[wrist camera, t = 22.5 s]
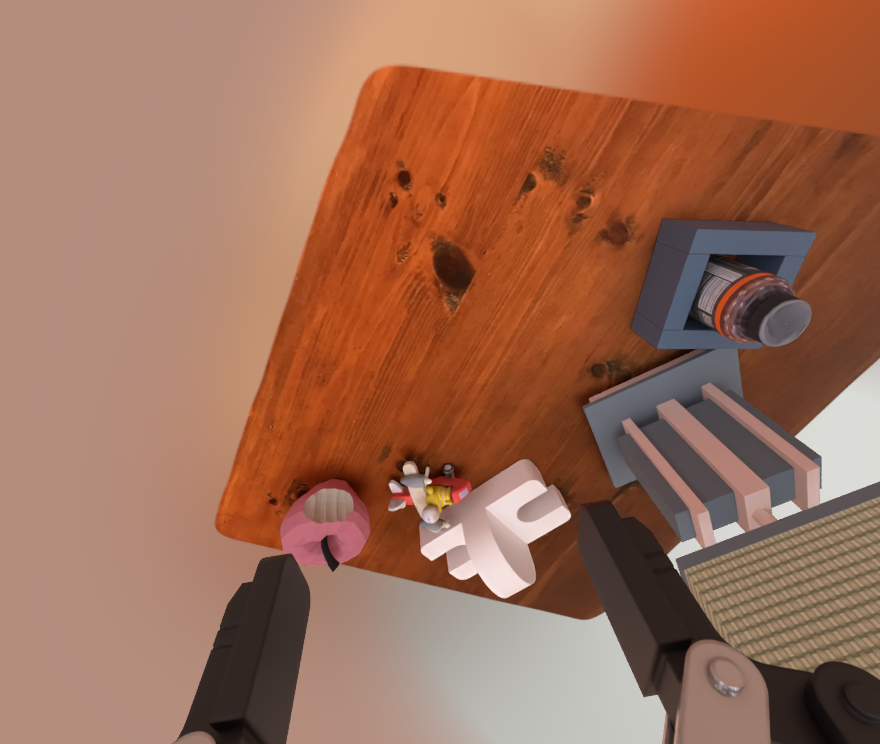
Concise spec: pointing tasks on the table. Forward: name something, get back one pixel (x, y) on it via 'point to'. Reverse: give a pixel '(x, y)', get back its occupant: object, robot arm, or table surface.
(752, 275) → the supplement bottle
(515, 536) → the slotted arch bracket
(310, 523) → the apple
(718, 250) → the stand
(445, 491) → the toy airplane
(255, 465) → the table surface
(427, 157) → the table surface
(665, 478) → the desk lamp
